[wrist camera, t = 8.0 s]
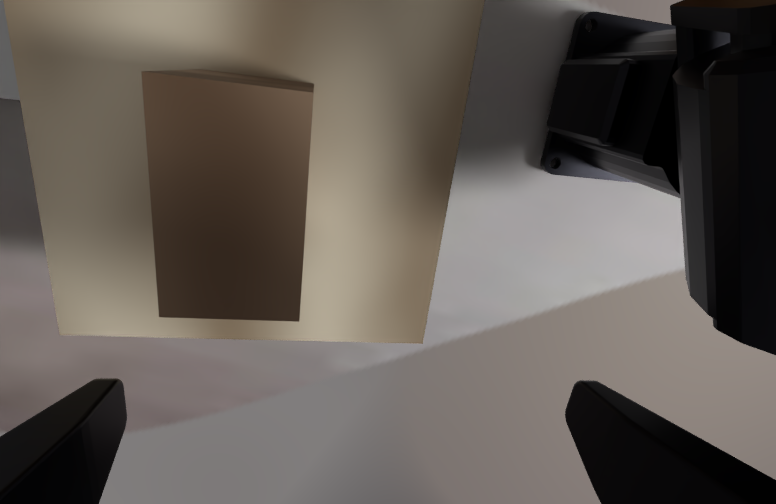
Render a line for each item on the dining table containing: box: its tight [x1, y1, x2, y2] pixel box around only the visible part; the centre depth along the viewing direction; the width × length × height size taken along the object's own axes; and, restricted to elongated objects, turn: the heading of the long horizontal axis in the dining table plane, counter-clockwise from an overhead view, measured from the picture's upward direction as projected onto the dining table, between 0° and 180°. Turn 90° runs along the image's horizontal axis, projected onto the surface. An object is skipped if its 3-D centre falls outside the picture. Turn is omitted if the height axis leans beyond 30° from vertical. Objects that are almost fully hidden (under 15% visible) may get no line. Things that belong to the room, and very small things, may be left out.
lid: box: [3, 0, 485, 344], centre depth 12 cm, size 12×12×6 cm
